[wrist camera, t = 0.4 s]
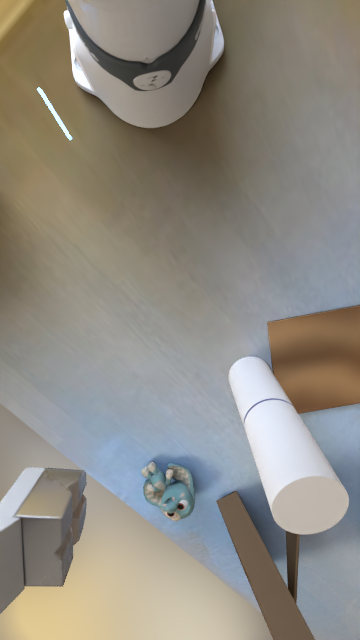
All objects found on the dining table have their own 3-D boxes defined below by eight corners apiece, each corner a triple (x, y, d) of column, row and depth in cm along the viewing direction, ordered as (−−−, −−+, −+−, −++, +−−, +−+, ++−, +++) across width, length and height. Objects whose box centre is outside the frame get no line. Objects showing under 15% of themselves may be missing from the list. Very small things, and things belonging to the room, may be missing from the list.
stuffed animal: (163, 464, 51) (211, 515, 52) (169, 440, 58) (211, 485, 59) (118, 498, 53) (164, 547, 54) (130, 471, 60) (170, 514, 61)
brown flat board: (267, 322, 49) (267, 323, 49) (452, 287, 48) (454, 288, 48) (277, 415, 55) (278, 417, 55) (443, 387, 54) (445, 388, 53)
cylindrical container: (261, 350, 51) (336, 465, 27) (276, 384, 53) (357, 519, 29) (221, 366, 52) (260, 492, 28) (237, 400, 54) (286, 543, 30)
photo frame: (244, 568, 67) (282, 760, 43) (215, 496, 61) (241, 675, 37) (311, 552, 66) (387, 740, 42) (288, 476, 59) (364, 648, 36)
